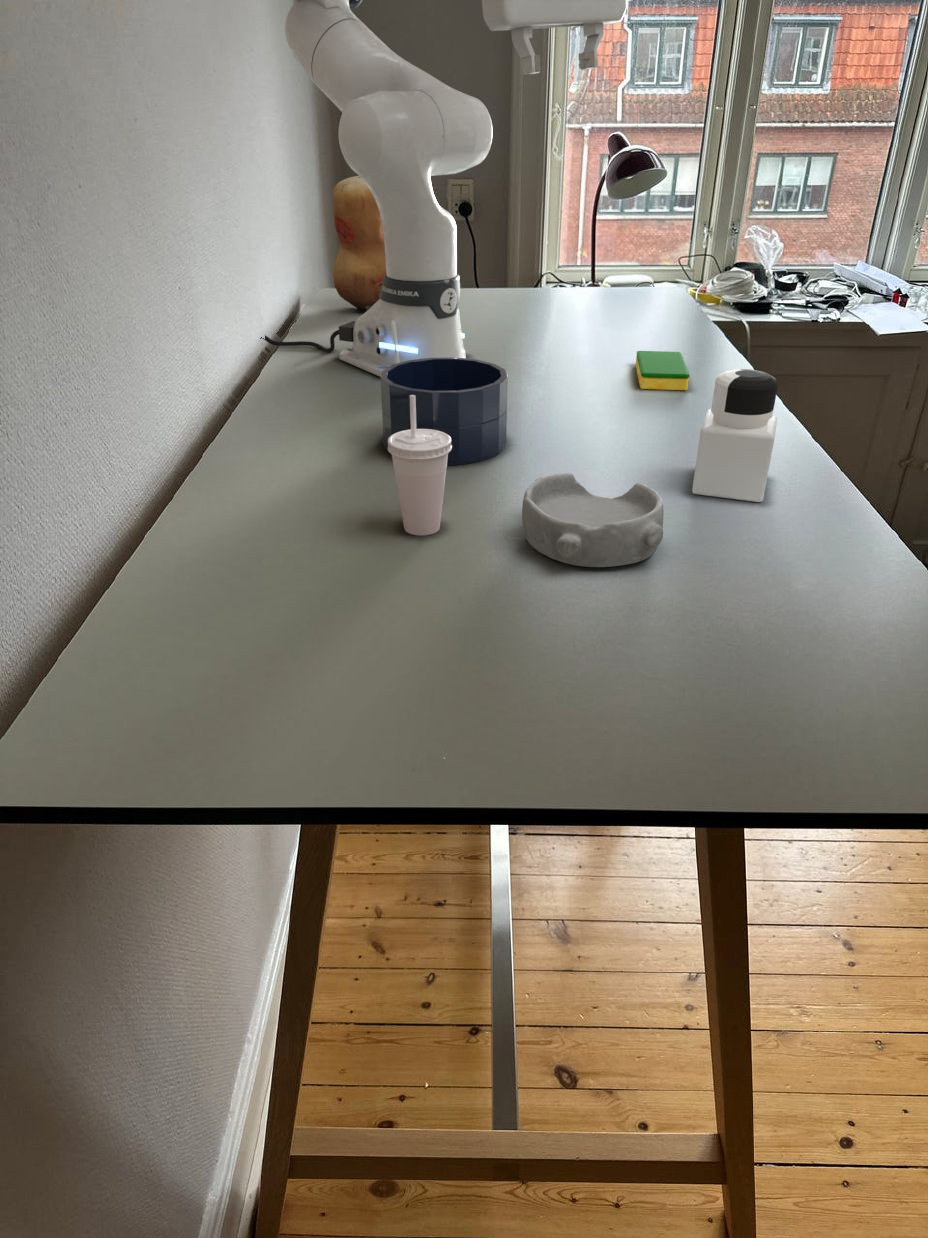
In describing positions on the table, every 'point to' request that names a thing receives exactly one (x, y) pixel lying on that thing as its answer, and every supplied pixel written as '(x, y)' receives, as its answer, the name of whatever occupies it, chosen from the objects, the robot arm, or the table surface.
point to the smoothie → (420, 474)
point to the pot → (449, 403)
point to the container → (737, 437)
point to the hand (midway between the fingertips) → (560, 71)
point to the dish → (591, 522)
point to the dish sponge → (661, 370)
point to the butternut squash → (358, 243)
